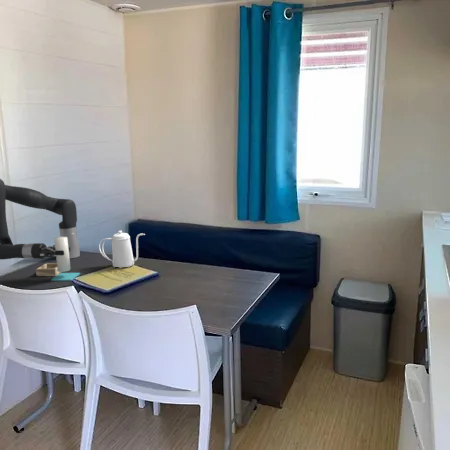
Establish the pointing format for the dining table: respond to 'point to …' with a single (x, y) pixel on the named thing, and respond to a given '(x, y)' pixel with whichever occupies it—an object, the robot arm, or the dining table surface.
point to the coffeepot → (121, 250)
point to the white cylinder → (62, 260)
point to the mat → (65, 277)
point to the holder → (47, 270)
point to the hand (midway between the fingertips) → (66, 251)
